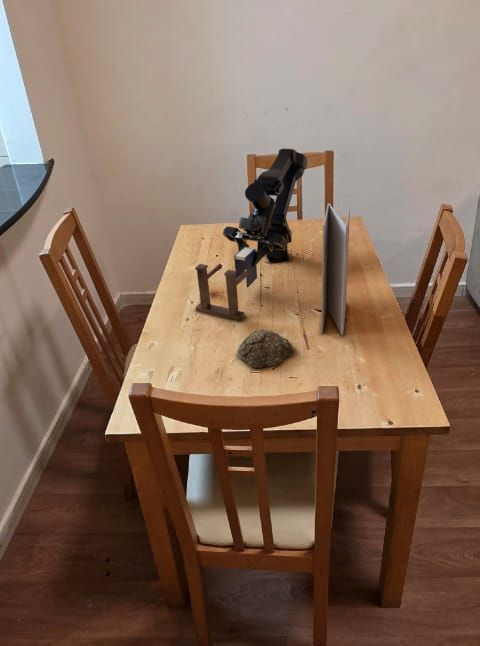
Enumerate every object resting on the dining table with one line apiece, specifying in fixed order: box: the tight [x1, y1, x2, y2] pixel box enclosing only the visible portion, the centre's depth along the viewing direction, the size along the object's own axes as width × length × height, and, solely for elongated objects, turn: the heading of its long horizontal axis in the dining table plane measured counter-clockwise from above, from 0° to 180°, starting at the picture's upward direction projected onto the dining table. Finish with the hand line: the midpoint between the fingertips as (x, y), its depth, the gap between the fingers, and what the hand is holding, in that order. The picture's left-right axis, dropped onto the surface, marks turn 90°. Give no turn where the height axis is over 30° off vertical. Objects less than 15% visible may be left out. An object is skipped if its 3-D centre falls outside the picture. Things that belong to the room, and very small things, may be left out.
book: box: [233, 247, 258, 288], centre depth 160 cm, size 6×4×10 cm, turn 153°
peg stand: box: [194, 263, 250, 322], centre depth 154 cm, size 11×14×14 cm
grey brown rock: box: [237, 328, 293, 369], centre depth 136 cm, size 13×12×5 cm
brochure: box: [320, 202, 351, 336], centre depth 141 cm, size 14×6×30 cm, turn 168°
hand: (246, 265), depth 160 cm, fingers closed on book, 4 cm apart
